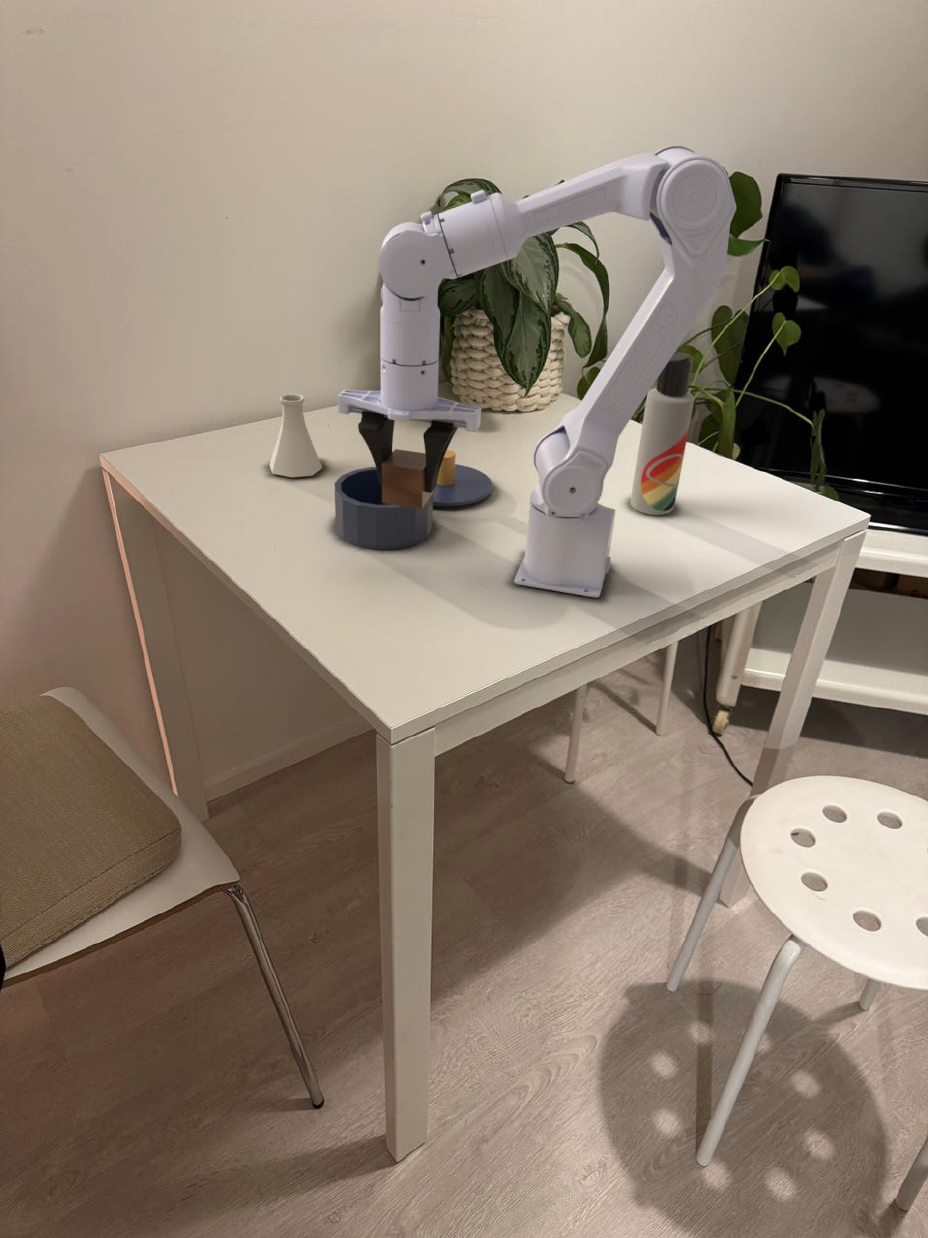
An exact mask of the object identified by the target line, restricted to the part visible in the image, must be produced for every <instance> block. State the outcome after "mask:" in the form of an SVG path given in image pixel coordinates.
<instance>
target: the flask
mask: <svg viewBox="0 0 928 1238" xmlns="http://www.w3.org/2000/svg"><path fill="white" fill-rule="evenodd" d="M279 401H280V403H281V405H282V415H281V425H280V428H279V431H278V434H277V435H278V436H277V440H276V443H275V446H274V449H273V452H272V455H271V459H270V462H269V468H270V471H271V474H272V475H277V476H283V477H287V478H288V477H289V478H299V477H313V476H314V475H315V474H317V473H318V472H319V471H321V470H322V469H323V466H322V463H321V460H320V457H319V456H318V454H317V451H316V448H315V446H314V444H313V440H312V439H311V435H310V434H309V431H308V428H307V425H306V421H305V416H304V408H303V404H304V403H305V397H304V395H303V394H299V393H284V394H283V395H281V396H279Z"/></svg>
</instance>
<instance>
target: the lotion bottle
mask: <svg viewBox="0 0 928 1238" xmlns="http://www.w3.org/2000/svg"><path fill="white" fill-rule="evenodd" d="M693 364H694V361H693V359H692V355H691V354H690V353H686V352H676V351H675V353H674V354H673V356H672V357H671V359H670V360H669V362H668V363H667V365H666V366H665V368H664V369H663V371H662V372H661V374H660V375H659V377H658V378H657V380H656V381H657V382H656V387H655V388H651V389H650V390H649V392H648V393H647V395H646V401H645V406H644V412H643V418H642V419H643V420H642V425H641V433H640V437H639V445H638V450H637V456H636V463H635V470H634V475H633V483H632V489H631V497H630V505H631V507H632V508H633V509H634V510H635V511H637V512H640V513H641V514H645V515H651V516H664V515H667V514H670V513H671V512H672V511H673V510H674V508H675V503H676V499H677V494H678V489H679V484H680V478H681V473H682V468H683V462H684V457H685V451H686V447H687V440H688V436H689V429H690V425H691V420H692V414H693V408H694V403H695V396H694V395H693V394H692V393H691V392H689V391H688V390H689V385H690V379H691V376H692V370H693Z"/></svg>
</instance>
